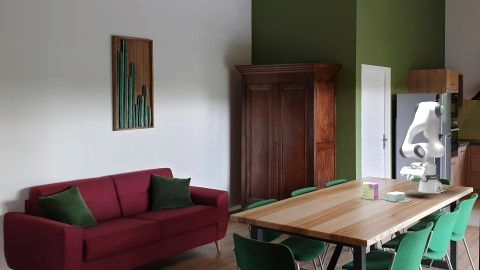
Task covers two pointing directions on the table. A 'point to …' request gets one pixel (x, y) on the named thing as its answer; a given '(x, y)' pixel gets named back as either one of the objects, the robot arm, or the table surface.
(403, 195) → the block
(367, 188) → the box
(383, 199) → the mat
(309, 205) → the table surface
